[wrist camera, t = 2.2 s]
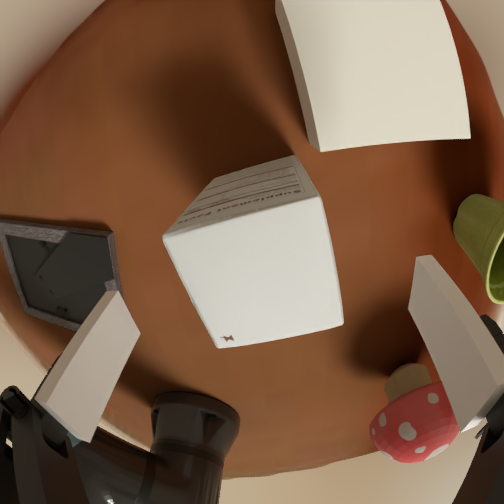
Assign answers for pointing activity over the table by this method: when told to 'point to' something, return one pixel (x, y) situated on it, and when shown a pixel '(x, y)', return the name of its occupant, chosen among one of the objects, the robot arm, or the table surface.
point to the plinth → (374, 71)
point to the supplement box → (258, 256)
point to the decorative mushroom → (414, 417)
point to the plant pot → (483, 240)
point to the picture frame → (59, 269)
